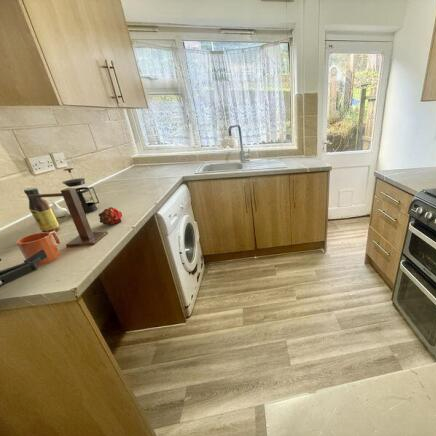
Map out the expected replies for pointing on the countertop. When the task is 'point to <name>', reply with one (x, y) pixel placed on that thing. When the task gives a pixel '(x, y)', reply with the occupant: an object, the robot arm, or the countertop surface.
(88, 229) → the mug stand
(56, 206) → the garlic bulb
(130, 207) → the countertop surface
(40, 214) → the sauce bottle
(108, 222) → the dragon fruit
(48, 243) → the mug
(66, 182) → the french press
